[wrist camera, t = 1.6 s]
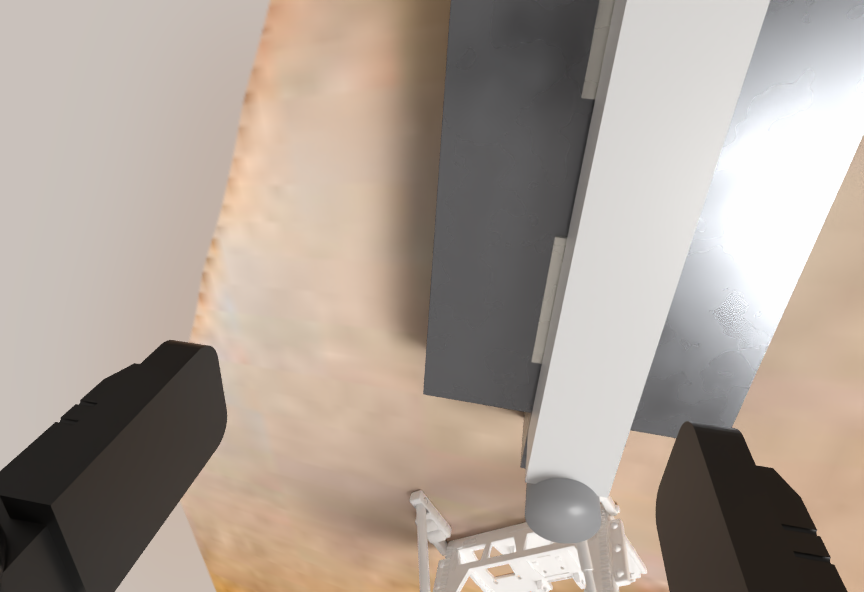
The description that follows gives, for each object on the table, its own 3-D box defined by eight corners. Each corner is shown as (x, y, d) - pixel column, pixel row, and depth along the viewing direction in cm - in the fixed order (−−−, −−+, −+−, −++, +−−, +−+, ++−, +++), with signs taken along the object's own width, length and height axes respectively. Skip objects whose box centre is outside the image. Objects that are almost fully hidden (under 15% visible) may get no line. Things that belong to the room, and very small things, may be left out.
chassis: (480, -194, 22) (465, -227, 18) (937, -178, 19) (1022, -212, 16) (432, 402, 37) (418, 448, 33) (685, 446, 35) (700, 501, 31)
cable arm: (591, 482, 32) (596, 550, 28) (520, 468, 32) (516, 534, 28) (776, -137, 17) (836, -167, 14) (644, -142, 18) (667, -173, 14)
